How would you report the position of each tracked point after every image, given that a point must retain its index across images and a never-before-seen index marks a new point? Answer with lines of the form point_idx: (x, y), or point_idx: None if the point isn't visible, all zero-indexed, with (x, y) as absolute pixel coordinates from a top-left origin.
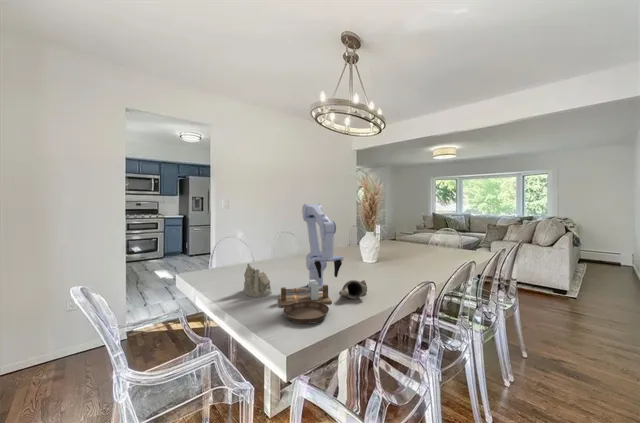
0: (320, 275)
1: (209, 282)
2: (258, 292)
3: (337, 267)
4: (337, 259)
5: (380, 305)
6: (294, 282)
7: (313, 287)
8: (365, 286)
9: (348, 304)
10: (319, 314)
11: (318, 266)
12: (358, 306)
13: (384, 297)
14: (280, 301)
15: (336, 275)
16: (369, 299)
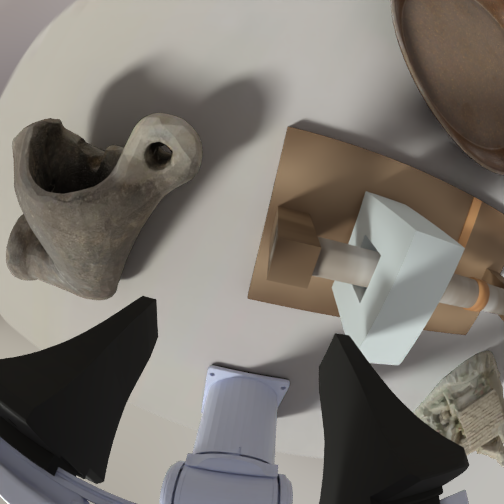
0: (351, 352)
1: None
2: (495, 367)
3: (75, 364)
4: (31, 473)
5: (63, 38)
6: (299, 445)
7: (437, 230)
8: (18, 134)
9: (191, 74)
10: (428, 20)
11: (433, 442)
12: (155, 33)
13: (10, 139)
14: (501, 269)
15: (141, 305)
16: None
